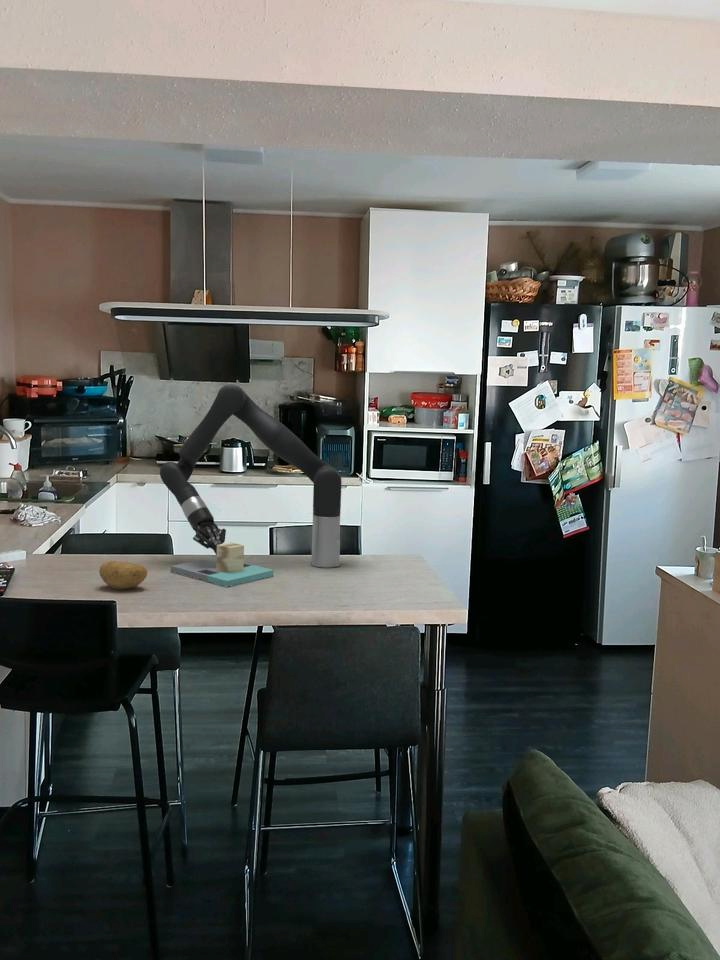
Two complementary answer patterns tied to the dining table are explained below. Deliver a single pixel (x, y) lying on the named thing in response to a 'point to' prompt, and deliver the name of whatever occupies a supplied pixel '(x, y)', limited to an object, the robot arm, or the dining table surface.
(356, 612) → the dining table surface
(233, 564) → the maple block
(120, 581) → the potato
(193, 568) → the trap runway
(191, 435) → the robot arm
